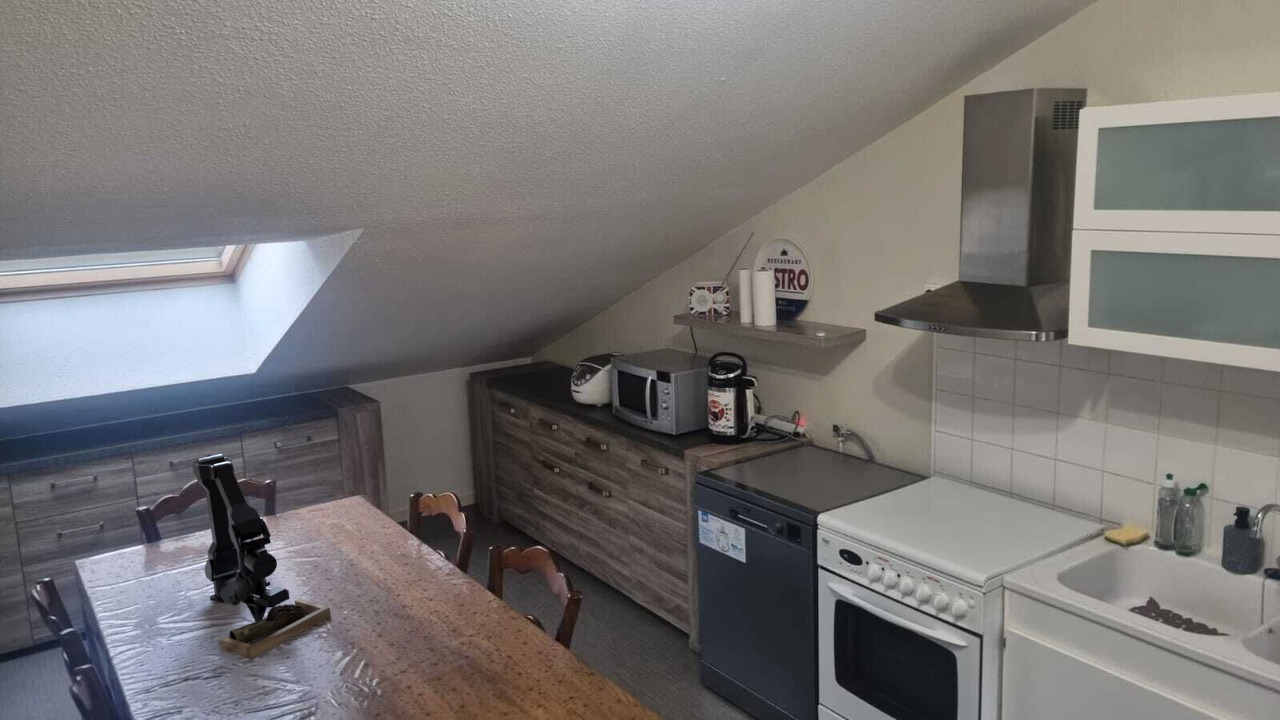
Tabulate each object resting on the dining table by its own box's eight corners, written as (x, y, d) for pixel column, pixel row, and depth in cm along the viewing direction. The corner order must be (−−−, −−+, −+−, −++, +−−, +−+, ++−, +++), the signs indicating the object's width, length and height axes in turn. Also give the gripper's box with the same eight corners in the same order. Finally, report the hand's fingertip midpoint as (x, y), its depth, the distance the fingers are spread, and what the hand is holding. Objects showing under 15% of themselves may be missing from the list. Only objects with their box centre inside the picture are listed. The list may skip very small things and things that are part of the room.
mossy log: (238, 651, 228) (235, 629, 227) (227, 642, 233) (224, 621, 231) (309, 624, 240) (306, 604, 238) (297, 616, 244) (294, 596, 243)
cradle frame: (220, 648, 229) (219, 639, 228) (300, 607, 249) (299, 598, 249) (252, 659, 223) (250, 649, 223) (330, 615, 244) (329, 606, 243)
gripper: (198, 570, 234) (206, 628, 237) (249, 584, 225) (257, 645, 228) (237, 553, 243) (244, 610, 246) (287, 566, 234) (294, 625, 237)
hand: (258, 622), depth 239 cm, fingers closed
